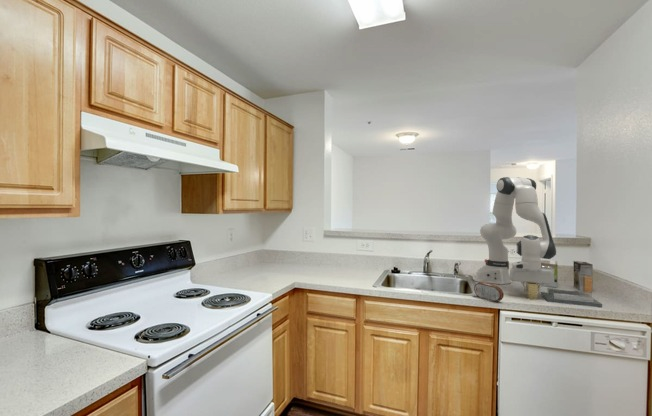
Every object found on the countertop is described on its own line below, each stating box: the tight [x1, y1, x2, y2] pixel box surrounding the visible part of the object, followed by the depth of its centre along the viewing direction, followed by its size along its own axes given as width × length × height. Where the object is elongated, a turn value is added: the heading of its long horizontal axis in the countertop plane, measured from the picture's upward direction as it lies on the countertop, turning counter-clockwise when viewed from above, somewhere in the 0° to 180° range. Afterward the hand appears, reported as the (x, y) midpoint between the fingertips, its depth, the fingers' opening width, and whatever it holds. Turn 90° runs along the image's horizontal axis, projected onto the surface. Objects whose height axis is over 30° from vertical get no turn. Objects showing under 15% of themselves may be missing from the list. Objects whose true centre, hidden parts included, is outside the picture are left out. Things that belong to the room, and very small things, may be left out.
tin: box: [473, 282, 504, 303], centre depth 158 cm, size 15×3×8 cm, turn 30°
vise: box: [540, 291, 603, 308], centre depth 156 cm, size 22×14×4 cm, turn 66°
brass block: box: [524, 282, 539, 300], centre depth 162 cm, size 4×8×8 cm, turn 156°
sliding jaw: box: [546, 276, 593, 297], centre depth 161 cm, size 19×2×10 cm, turn 66°
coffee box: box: [573, 260, 594, 293], centre depth 178 cm, size 9×6×16 cm
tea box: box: [541, 259, 559, 289], centre depth 190 cm, size 15×10×15 cm, turn 143°
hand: (531, 290), depth 162 cm, fingers closed on brass block, 4 cm apart
